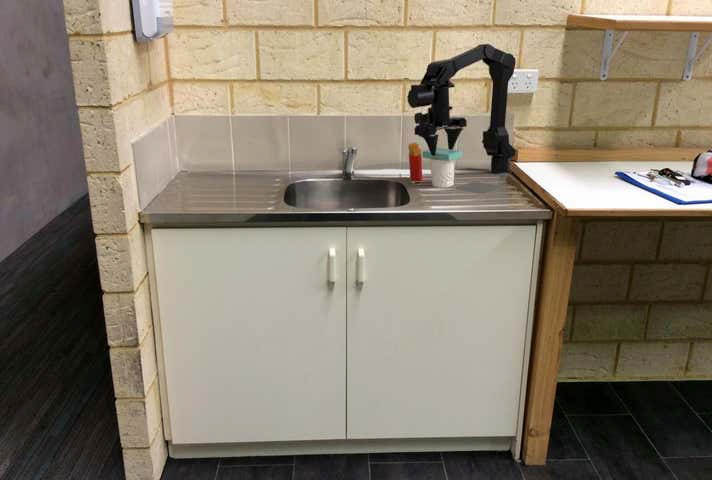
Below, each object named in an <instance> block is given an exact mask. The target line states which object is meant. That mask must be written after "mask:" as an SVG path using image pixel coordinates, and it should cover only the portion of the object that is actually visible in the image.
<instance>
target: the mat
mask: <svg viewBox="0 0 712 480" xmlns="http://www.w3.org/2000/svg"><path fill="white" fill-rule="evenodd" d="M503 187H505V186H503V185H498V184H492V183H486V182H480V181H470V182H467V183H465V184H461V185H459V186H456V187H453V189H454V190H460V191H466V192H471V193H477V194H482V195H483V194H484V195H485V194H487V193H490V192H493V191H496V190H498V189H501V188H503Z"/></svg>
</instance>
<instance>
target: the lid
mask: <svg viewBox="0 0 712 480" xmlns="http://www.w3.org/2000/svg"><path fill="white" fill-rule="evenodd" d="M459 158H463V150H458V149H453V150H450V149H449V148H441V147H436V153H435V156H432V155H431V152H430V150H429V149H426V150H422V159H428V160H430V159H437V160H445V161H451V160H454V161H455V160H456V159H459Z"/></svg>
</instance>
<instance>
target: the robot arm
mask: <svg viewBox="0 0 712 480" xmlns="http://www.w3.org/2000/svg"><path fill="white" fill-rule="evenodd" d="M480 61H482V62H483V63H484V64H485V65H486V66H488V74H489V76H490V78H491V81H492V89H491V91H492V92H491V105H490V118H489V120H490V121H489V127H488V128H487V130H484V131H483V132H482V140H481V144H482V147H483V148H484V150H485V151H486V155H487V156H490V158H491V160H490V161H491V162H490V173H491V174H494V175H499V174H505V173H506V174H514V173H515V172H514V170H511V159H512V158H513V157H515V155H516V151H517V150H516V149H515V148H514V146H513V145H511V144H510V137H509V136H510V134H509V133H508V129H507V127H506V117H507V104H508V92H509V91H508V90H509V82H510V80H511V79H512V77H513V75H514V73H515V68H516V61H517V60H516V57H514V55H513V54H512V53H507V52H505V51H503V50H501V49H498V48H497V47H495V46H493V45H492V44H489V43H481V44H478V45H477V46H475V47H472V48H471V49H468V50H467V51H465V52H463V53H459V54H458V55H455V56H453V57H451V58H449V59H442V60H436V61H432V62H430V63H428V65H427V67H426V72H425V73H424V75H423V78H422V79H421V81H420V82H419V84H411V85H410V89H409V91H408V93H407V96H406V97H407V99H406V100H407V103H408V105H409V107H410V108H412V109H416V108H422V107H428V108H427V112H426V113H422V111H421V112H416V113H415V114H414V115H413V116H414V117H413V119H414V123H415V124H416V126H415V127H414V129H413V130H414V135H415V136H418V137H420V138H423V140H424V141H425V143H426V145H427V147H428V150H430V152H431V155H432V156H435V153H436V148H438V146H437V145H438V140H439V134H436V133H437V131H439V130H444V132H446V137H447V139H446V140H447V146H448V148H447V149H450V150H454V147H455V145H456V143H457V140H458V139H459V136H460V134H461V132H462V131H464V128H465V127H467V126H468V125H467V119H466V117H460V116H459V117H458V116H452V117H451V113H450V111H452V110H453V106H452V105H450V89H451V88H455V87H456V86H455V84H454V83H453V82H452V81H451V78H453V77H455V76H456V74H457V73H458V72H459V71H460V70H463V69H465V68H467V67H469V66H471V65H473V64H477V63H478V62H480ZM429 106H430V107H429Z"/></svg>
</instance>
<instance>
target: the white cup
mask: <svg viewBox="0 0 712 480" xmlns="http://www.w3.org/2000/svg"><path fill="white" fill-rule="evenodd" d="M429 165H430V175H431V180H432V181H431V182H432V187H436V188H447V187H452V186H454V183H455V182H454V181H455V159H454V160H451V161H445V160H437V159H429Z"/></svg>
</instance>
